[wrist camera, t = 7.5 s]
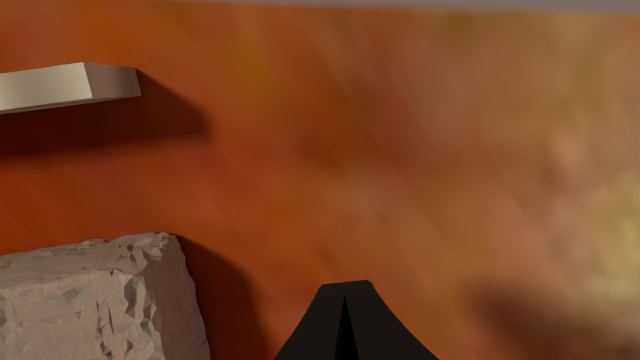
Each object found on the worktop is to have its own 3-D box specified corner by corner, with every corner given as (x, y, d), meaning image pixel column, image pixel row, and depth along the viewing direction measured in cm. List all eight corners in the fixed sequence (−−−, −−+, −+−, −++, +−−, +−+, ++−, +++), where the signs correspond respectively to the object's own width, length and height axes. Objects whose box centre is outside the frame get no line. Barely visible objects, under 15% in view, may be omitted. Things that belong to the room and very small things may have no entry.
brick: (-57, 398, 21) (-163, 483, 17) (-121, 266, 19) (-261, 322, 15) (223, 364, 20) (193, 444, 16) (187, 222, 18) (140, 266, 14)
